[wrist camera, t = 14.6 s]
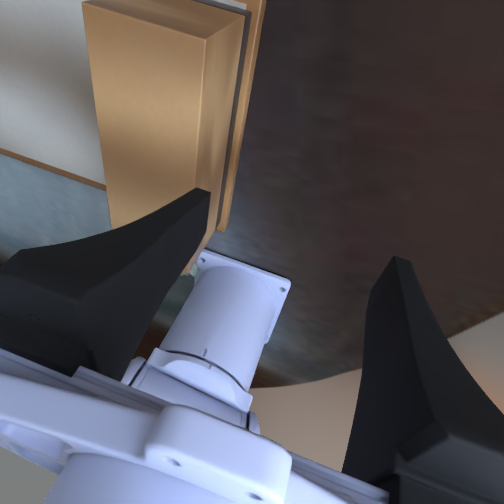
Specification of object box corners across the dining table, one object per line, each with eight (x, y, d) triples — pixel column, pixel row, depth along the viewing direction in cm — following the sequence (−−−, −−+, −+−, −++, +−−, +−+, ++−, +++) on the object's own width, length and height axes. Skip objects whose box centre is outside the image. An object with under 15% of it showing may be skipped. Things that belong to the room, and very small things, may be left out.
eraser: (220, 221, 26) (187, 274, 22) (156, 199, 26) (113, 247, 23) (252, 11, 17) (205, 39, 13) (153, -18, 17) (80, 1, 13)
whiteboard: (227, 225, 27) (222, 234, 27) (-4, 144, 29) (-14, 149, 29) (269, -14, 17) (263, -10, 16) (-98, -118, 19) (-117, -119, 18)
